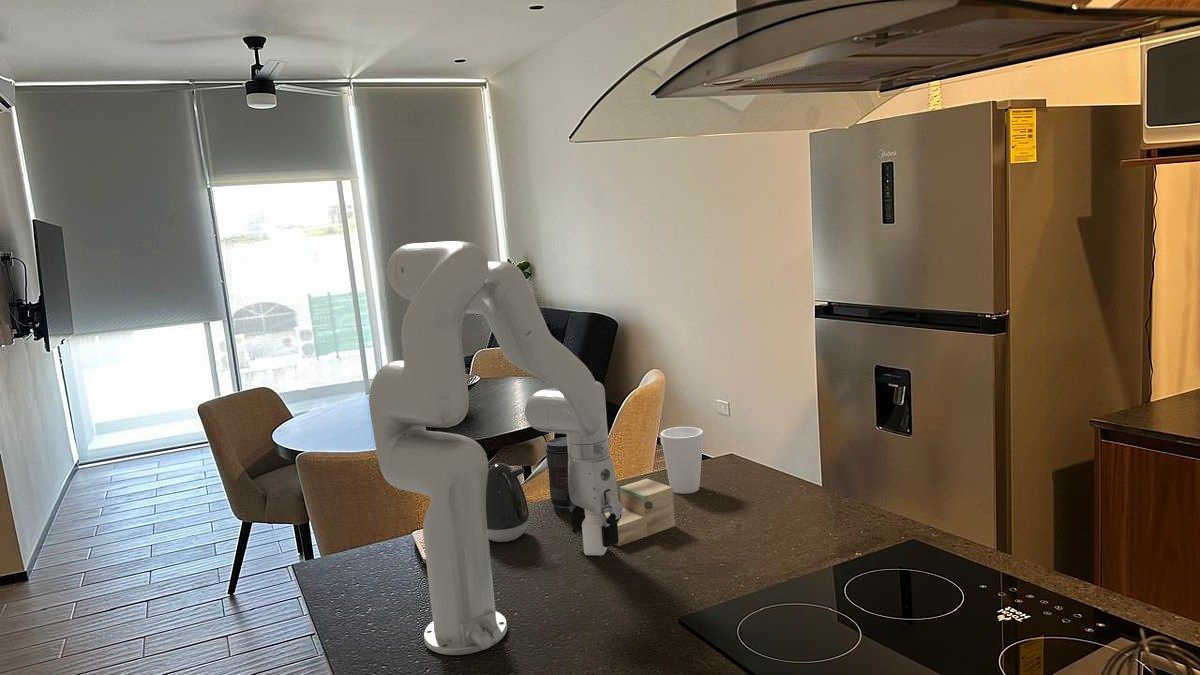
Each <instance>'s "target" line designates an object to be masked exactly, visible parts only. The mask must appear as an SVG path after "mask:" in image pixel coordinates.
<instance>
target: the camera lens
mask: <svg viewBox="0 0 1200 675" xmlns="http://www.w3.org/2000/svg"><path fill="white" fill-rule="evenodd" d="M545 451H546V464H547V468H548V479H549V480H548V481H549V485H548V486H549V495H550V501H551V504H552V505H553V510H554V512H555V513H557V514H563V515H568V514H569V515H571V511H570V510H569V503H568V501H567V499H566V496H567V495H566V493H565V490H564V485H565V484H566V483H568V459H569V458H568V445H567V436H562V437H557V438H552V439H549V440H547V442H546V446H545ZM572 512H573V511H572Z"/></svg>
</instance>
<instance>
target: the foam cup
mask: <svg viewBox="0 0 1200 675" xmlns="http://www.w3.org/2000/svg"><path fill="white" fill-rule="evenodd" d="M659 435H660V445H661V446H662V451H663V456H664V461H665V465H666V466H665V467H666V471H667V472H666V473H667V477H668V482H669V486H670V487H673V493H675V494H680V495H681V494H693V493H695V492H698V491H699V490H700V484H701V470H702V456H703V447H704V445H703V444H704V440H705V438H704V431H703V429H702V428H699V427H694V426H676V427H669V428H666V429H663V430H662V431H661V432H660V433H659Z"/></svg>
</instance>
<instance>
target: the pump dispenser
mask: <svg viewBox="0 0 1200 675" xmlns="http://www.w3.org/2000/svg"><path fill="white" fill-rule="evenodd" d="M524 473H525V468H523V467H520V468H517V469H513V468H512V467H511V466H510V465H509V464H506V463H504V462H498V463H493V464H492V465H490V467H488V477H487V486H486V519H487V530H488V539H489V540H491V541H493V542H498V543H509V542H512V541H515V540H516V539H518V538H519V537H521V536H522V535H523V534H524V533H525V532H526V529H527V527H528V523H529V521H530V518H531V517H530V510H529V504H528V501H527V500H528V499H527V498H526V497H527V496H526V494H525V491H524V488H523V485H522V483H521V482H520V479H519V476H521V475H522V474H524Z"/></svg>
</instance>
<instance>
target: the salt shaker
mask: <svg viewBox="0 0 1200 675" xmlns="http://www.w3.org/2000/svg"><path fill="white" fill-rule="evenodd" d="M603 525H604V524H603V522H602V520H601V518H600V516H599V514H596V513H593V512H591V511H588V510H586V509H585V519H584V520H583V523H582V531H581V532H582V545H583V554H584V555H585V556H604V555H605V554H606V552H607V550H608V547H604V546H603V541H602V528H601V526H603Z"/></svg>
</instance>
